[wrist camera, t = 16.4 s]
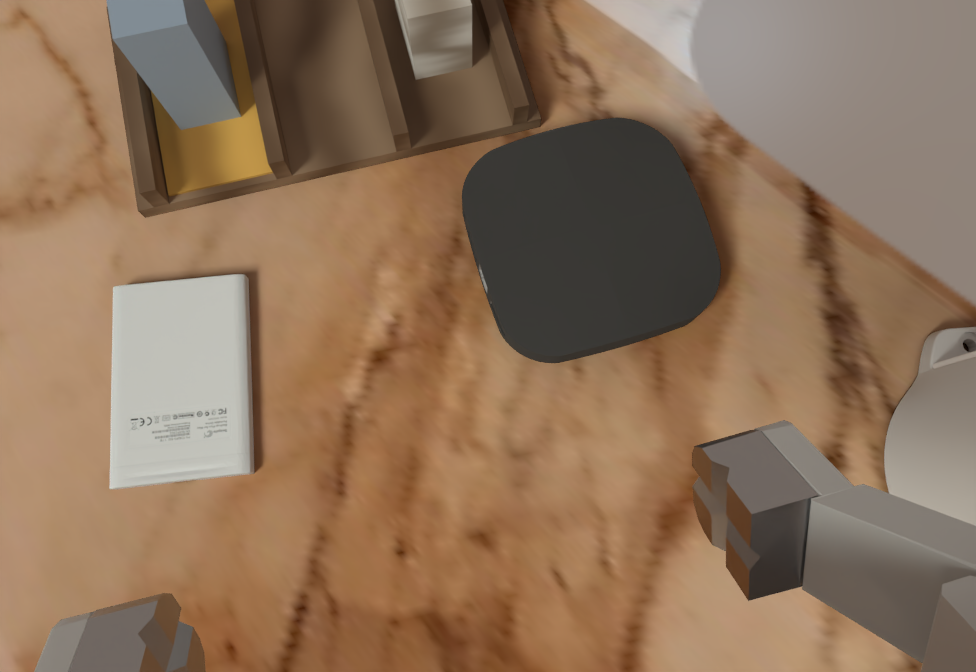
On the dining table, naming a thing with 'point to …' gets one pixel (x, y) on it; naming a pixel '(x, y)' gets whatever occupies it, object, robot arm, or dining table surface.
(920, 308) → the dining table surface
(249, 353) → the external hard drive
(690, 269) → the media streaming box
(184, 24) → the grey rectangular block
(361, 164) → the rack
